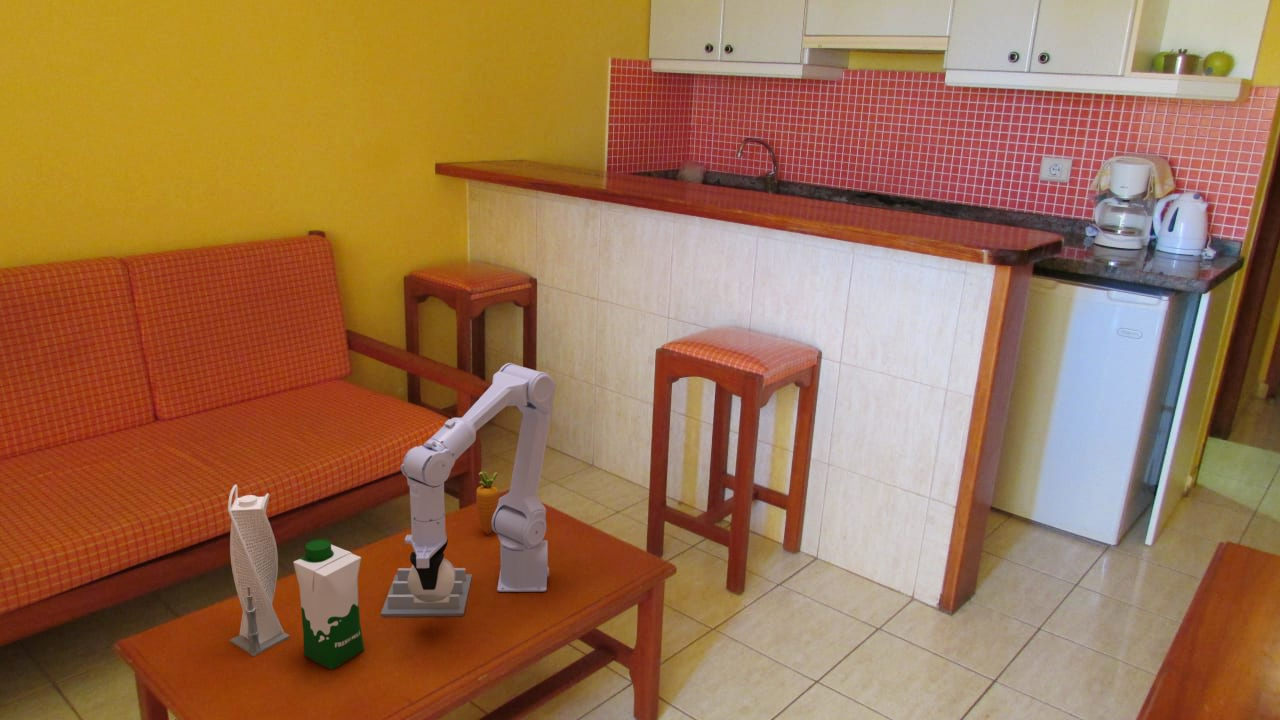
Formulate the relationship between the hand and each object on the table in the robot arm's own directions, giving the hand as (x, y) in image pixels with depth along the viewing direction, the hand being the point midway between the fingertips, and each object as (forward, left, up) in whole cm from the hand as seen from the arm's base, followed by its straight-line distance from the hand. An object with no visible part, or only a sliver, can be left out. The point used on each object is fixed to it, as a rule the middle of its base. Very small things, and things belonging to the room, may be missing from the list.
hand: (430, 584), depth 158 cm
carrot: (-6, -36, -10) cm, 38 cm away
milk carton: (+16, +7, -10) cm, 19 cm away
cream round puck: (0, 0, -3) cm, 3 cm away
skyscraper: (+30, +2, -10) cm, 31 cm away
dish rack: (+3, -11, -9) cm, 15 cm away
